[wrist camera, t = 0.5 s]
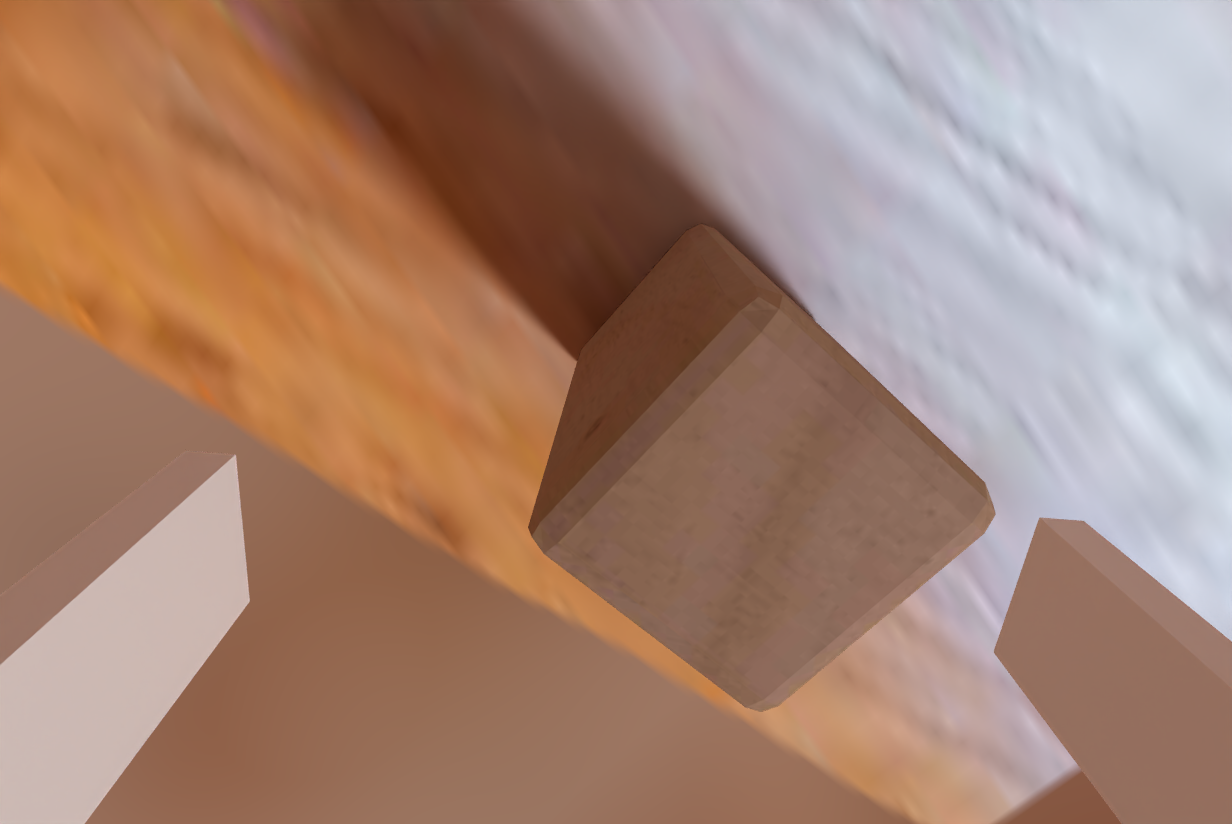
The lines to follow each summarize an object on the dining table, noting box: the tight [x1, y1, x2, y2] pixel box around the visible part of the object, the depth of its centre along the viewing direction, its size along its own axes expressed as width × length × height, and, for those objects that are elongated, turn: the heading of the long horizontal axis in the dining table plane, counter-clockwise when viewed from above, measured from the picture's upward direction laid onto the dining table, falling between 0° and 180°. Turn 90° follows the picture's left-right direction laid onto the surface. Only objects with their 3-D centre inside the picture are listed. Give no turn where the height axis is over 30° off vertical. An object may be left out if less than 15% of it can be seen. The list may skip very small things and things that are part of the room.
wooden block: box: [528, 224, 996, 712], centre depth 30 cm, size 10×10×20 cm
